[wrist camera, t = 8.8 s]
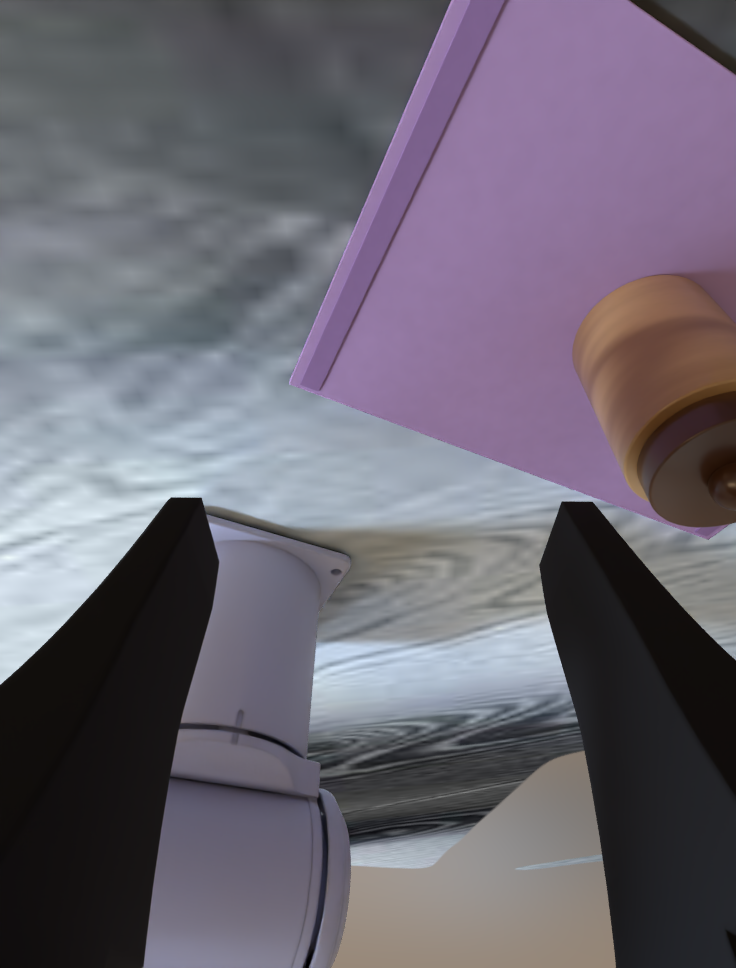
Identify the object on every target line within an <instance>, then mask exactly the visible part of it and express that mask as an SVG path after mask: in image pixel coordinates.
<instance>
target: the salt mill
mask: <svg viewBox="0 0 736 968" xmlns="http://www.w3.org/2000/svg"><path fill="white" fill-rule="evenodd" d="M572 360H573V365H574V368H575V370H576V373H577V375H578V377H579V379H580V382H581V384H582V386H583V388H584V390H585V392H586V395H587V397H588V399H589V401H590V403H591V406H592V408H593V410H594V412H595V414H596V416H597V419H598V421H599V423H600V425H601V427H602V430H603V432H604V434H605V436H606V438H607V440H608V443H609V445H610V447H611V449H612V451H613V454H614V456H615V458H616V460H617V462H618V464H619V467H620V469H621V471H622V473H623V475H624V477H625V480H626V482H627V484H628V485H629V487H630V488H631V490H632V491H633V492H634V493H635V494H636V495H638V496H639V497H641V498H642V499H644V500H646V501H648V502H650V504H651V506H652V508H653V509H654V511H655V512H656V513H657V514H658V515H659V516H661V517H662V518H664V519H665V520H667V521H669V522H671V523H674V524H677V525H681V526H686V527H696V528H702V527H716V526H722V525H727V524H732V523H736V323H735V322H734V321H733V320H732V319H731V318H730V317H729V316H728V315H727V313H726V312H725V311H724V310H723V309H722V308H721V307H720V306H719V305H718V304H717V303H716V302H715V300H714V299H713V298H712V297H711V296H710V295H709V294H708V293H707V292H706V291H705V290H704V289H703V288H702V287H701V286H700V285H699V284H697V283H696V282H694V281H692V280H690V279H687V278H684V277H680V276H674V275H655V276H648V277H645V278H641V279H637V280H635V281H632V282H629V283H627V284H625V285H623V286H621V287H619V288H617V289H616V290H614V291H613V292H611V293H609V294H608V295H607V296H605V297H604V298H603V299H602V300H601V301H599V302H598V303H597V304H596V305H595V306H594V307H593V308H592V309H591V311H590V312H589V313H588V314H587V316H586V317H585V318H584V320H583V321H582V323H581V325H580V327H579V329H578V331H577V333H576V336H575V339H574V343H573V349H572Z"/></svg>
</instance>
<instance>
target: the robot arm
mask: <svg viewBox="0 0 736 968" xmlns="http://www.w3.org/2000/svg"><path fill="white" fill-rule="evenodd" d="M539 566H540V573H541V580H542V587H543V593H544V599H545V605H546V611H547V615H548V618H549V622H550V625H551V629H552V632H553V636H554V639H555V643H556V646H557V650H558V653H559V657H560V660H561V663H562V667H563V670H564V674H565V677H566V680H567V684H568V687H569V691H570V694H571V697H572V701H573V704H574V708H575V711H576V715H577V719H578V723H579V727H580V731H581V735H582V739H583V745H584V750H585V755H586V760H587V766H588V771H589V777H590V782H591V788H592V793H593V799H594V805H595V812H596V817H597V823H598V829H599V835H600V842H601V849H602V856H603V863H604V870H605V877H606V884H607V891H608V900H609V908H610V916H611V925H612V933H613V940H614V950H615V960H616V968H736V660H735V659H734V658H732V657H731V656H730V655H729V654H728V653H727V652H726V651H725V650H724V649H723V648H722V647H721V646H720V645H719V644H718V643H717V642H716V641H715V640H714V639H713V638H712V637H710V636H709V634H708V633H707V632H706V631H705V630H704V629H703V628H702V627H701V626H700V625H699V624H698V623H697V622H696V621H695V620H694V619H693V618H692V617H691V616H690V615H689V614H688V613H687V612H686V611H685V610H684V609H683V607H682V606H681V605H680V604H679V603H678V602H677V601H676V600H675V599H674V598H673V597H672V595H671V594H670V593H669V592H668V591H667V590H666V589H665V588H664V586H663V585H662V584H661V583H660V582H659V581H658V580H657V579H656V577H655V576H654V575H653V574H652V573H651V572H650V571H649V569H648V568H647V567H646V566H645V565H644V564H643V562H642V561H641V560H640V559H639V558H638V556H637V555H636V554H635V553H634V552H633V550H632V549H631V548H630V547H629V546H628V544H627V543H626V542H625V541H624V540H623V538H622V537H621V536H620V535H619V533H618V532H617V531H616V530H615V529H614V527H613V526H612V525H611V524H610V522H609V521H608V520H607V519H606V518H605V516H604V515H603V514H602V513H601V511H600V510H599V509H598V508H597V507H596V506H595V504H594V503H593V502H562V503H561V505H560V508H559V511H558V514H557V517H556V520H555V522H554V525H553V528H552V531H551V534H550V537H549V539H548V542H547V545H546V548H545V551H544V554H543V557H542V559H541V562H540V565H539ZM350 567H351V559H350V558H349V557H348V556H347V555H345V554H341V553H338V552H335V551H331V550H328V549H324V548H321V547H317V546H314V545H310V544H307V543H304V542H300V541H297V540H293V539H290V538H286V537H283V536H279V535H276V534H273V533H269V532H266V531H262V530H259V529H255V528H252V527H248V526H245V525H242V524H238V523H235V522H231V521H228V520H224V519H221V518H217V517H214V516H211V515H207V514H206V512H205V508H204V505H203V501H202V498H170V499H169V500H168V501H167V502H166V503H165V505H164V506H163V507H162V509H161V510H160V511H159V512H158V514H157V515H156V516H155V518H154V519H153V520H152V522H151V523H150V524H149V525H148V527H147V528H146V529H145V531H144V532H143V533H142V534H141V536H140V537H139V538H138V539H137V541H136V542H135V543H134V544H133V546H132V547H131V548H130V550H129V551H128V552H127V553H126V554H125V556H124V557H123V558H122V559H121V560H120V562H119V563H118V564H117V565H116V566H115V568H114V569H113V570H112V571H111V572H110V574H109V575H108V576H107V577H106V578H105V580H104V581H103V582H102V583H101V584H100V585H99V587H98V588H97V589H96V590H95V591H94V592H93V593H92V594H91V595H90V597H89V598H88V599H87V600H86V601H85V602H84V603H83V604H82V605H81V606H80V607H79V609H78V610H77V611H76V612H75V613H74V614H73V615H72V616H71V617H70V618H69V619H68V620H67V622H66V623H65V624H64V625H63V626H62V627H61V628H60V629H59V630H58V631H57V632H56V633H55V634H54V635H53V636H52V637H51V638H50V639H49V640H48V641H47V642H46V643H45V644H44V645H43V646H42V647H41V648H40V649H39V650H38V651H37V652H36V653H35V654H34V655H32V656H31V657H30V658H29V659H28V660H27V661H26V662H25V663H24V664H23V665H22V666H21V667H20V668H19V669H18V670H16V671H15V672H14V673H13V674H12V675H11V676H10V677H9V678H7V679H6V680H5V681H4V682H3V683H2V684H1V685H0V968H331V967H332V965H333V963H334V961H335V958H336V956H337V953H338V950H339V946H340V943H341V940H342V936H343V931H344V927H345V922H346V916H347V910H348V903H349V893H350V878H351V855H350V843H349V836H348V830H347V826H346V823H345V820H344V817H343V815H342V813H341V812H340V810H339V807H338V804H337V802H336V800H335V798H334V796H333V795H332V794H331V793H330V792H328V791H326V790H324V789H319V779H320V763H318V762H314V761H310V760H306V758H307V746H308V734H309V722H310V709H311V697H312V685H313V673H314V661H315V649H316V637H317V625H318V613H319V611H320V610H321V608H322V607H323V606H324V604H325V603H326V601H327V600H328V599H329V597H330V596H331V594H332V593H333V592H334V590H335V589H336V587H337V586H338V585H339V583H340V582H341V580H342V579H343V577H344V576H345V575H346V573H347V572H348V570H349V569H350Z"/></svg>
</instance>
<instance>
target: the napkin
mask: <svg viewBox="0 0 736 968" xmlns="http://www.w3.org/2000/svg"><path fill="white" fill-rule="evenodd" d="M655 275H674V276H680V277H684V278H687V279H690V280H692V281H694V282H696V283H697V284H699V285H700V286H701V287H702V288H703V289H704V290H705V291H706V292H707V293H708V294H709V295H710V296H711V297H712V298H713V299H714V300H715V302H716V303H717V304H718V305H719V306H720V307H721V308H722V309H723V310H724V311H725V312H726V313H727V315H728V316H729V317H730V318H731V319H732V320H733V321H734V322H735V323H736V74H734V73H733V72H731V71H730V70H728V69H727V68H725V67H724V66H723V65H721V64H720V63H718V62H717V61H715V60H714V59H713V58H711V57H710V56H708V55H707V54H705V53H704V52H703V51H701V50H700V49H698V48H697V47H695V46H694V45H693V44H691V43H690V42H688V41H687V40H685V39H684V38H683V37H681V36H680V35H678V34H677V33H675V32H674V31H673V30H671V29H670V28H668V27H667V26H665V25H664V24H662V23H661V22H660V21H658V20H657V19H655V18H654V17H652V16H651V15H650V14H648V13H647V12H645V11H644V10H642V9H641V8H640V7H638V6H637V5H635V4H634V3H632V2H631V1H630V0H451V3H450V5H449V7H448V10H447V12H446V14H445V17H444V19H443V21H442V24H441V26H440V28H439V31H438V33H437V35H436V38H435V40H434V43H433V45H432V47H431V50H430V52H429V54H428V57H427V59H426V61H425V64H424V66H423V68H422V71H421V73H420V75H419V78H418V80H417V82H416V85H415V87H414V89H413V92H412V94H411V97H410V99H409V101H408V104H407V106H406V108H405V111H404V113H403V115H402V118H401V120H400V122H399V125H398V127H397V129H396V132H395V134H394V136H393V139H392V141H391V144H390V146H389V148H388V151H387V153H386V155H385V158H384V160H383V162H382V165H381V167H380V169H379V172H378V174H377V176H376V179H375V181H374V183H373V186H372V188H371V190H370V193H369V195H368V198H367V200H366V202H365V205H364V207H363V209H362V212H361V214H360V216H359V219H358V221H357V223H356V226H355V228H354V230H353V233H352V235H351V237H350V240H349V242H348V245H347V247H346V249H345V252H344V254H343V256H342V259H341V261H340V263H339V266H338V268H337V270H336V273H335V275H334V277H333V280H332V282H331V284H330V287H329V289H328V291H327V294H326V296H325V299H324V301H323V303H322V306H321V308H320V310H319V313H318V315H317V317H316V320H315V322H314V324H313V327H312V329H311V331H310V334H309V336H308V338H307V341H306V343H305V346H304V348H303V350H302V353H301V355H300V357H299V360H298V362H297V364H296V367H295V369H294V371H293V374H292V376H291V378H290V382H289V384H290V385H293V386H296V387H298V388H301V389H304V390H306V391H309V392H312V393H314V394H317V395H320V396H322V397H325V398H328V399H331V400H333V401H336V402H339V403H341V404H344V405H347V406H349V407H352V408H355V409H357V410H360V411H363V412H366V413H368V414H371V415H374V416H376V417H379V418H382V419H384V420H387V421H390V422H392V423H395V424H398V425H401V426H403V427H406V428H409V429H411V430H414V431H417V432H419V433H422V434H425V435H427V436H430V437H433V438H436V439H438V440H441V441H444V442H446V443H449V444H452V445H454V446H457V447H460V448H463V449H465V450H468V451H471V452H473V453H476V454H479V455H481V456H484V457H487V458H489V459H492V460H495V461H498V462H500V463H503V464H506V465H508V466H511V467H514V468H516V469H519V470H522V471H524V472H527V473H530V474H533V475H535V476H538V477H541V478H543V479H546V480H549V481H551V482H554V483H557V484H559V485H562V486H565V487H568V488H570V489H573V490H576V491H578V492H581V493H584V494H586V495H589V496H592V497H594V498H597V499H600V500H603V501H605V502H608V503H611V504H613V505H616V506H619V507H621V508H624V509H627V510H629V511H632V512H635V513H638V514H640V515H643V516H646V517H648V518H651V519H654V520H656V521H659V522H662V523H664V524H667V525H670V526H673V527H675V528H678V529H681V530H683V531H686V532H689V533H691V534H694V535H697V536H699V537H702V538H705V539H708V540H709V539H710V538H711V537H713V536H714V535H715V534H717V533H718V532H720V531H721V530H722V529H724V528H725V527H726V526H728V525H729V524H727V525H722V526H716V527H702V528H696V527H686V526H681V525H677V524H674V523H671V522H669V521H667V520H665V519H664V518H662V517H661V516H659V515H658V514H657V513H656V512H655V511H654V509H653V508H652V506H651V504H650V502H648V501H646V500H644V499H642V498H641V497H639V496H638V495H636V494H635V493H634V492H633V491H632V490H631V488H630V487H629V485H628V484H627V482H626V480H625V477H624V475H623V473H622V471H621V469H620V467H619V464H618V462H617V460H616V458H615V456H614V454H613V451H612V449H611V447H610V445H609V443H608V440H607V438H606V436H605V434H604V432H603V430H602V427H601V425H600V423H599V421H598V419H597V416H596V414H595V412H594V410H593V408H592V406H591V403H590V401H589V399H588V397H587V395H586V392H585V390H584V388H583V386H582V384H581V382H580V379H579V377H578V375H577V373H576V370H575V368H574V365H573V360H572V349H573V343H574V339H575V336H576V333H577V331H578V329H579V327H580V325H581V323H582V321H583V320H584V318H585V317H586V316H587V314H588V313H589V312H590V311H591V309H592V308H593V307H594V306H595V305H596V304H597V303H598V302H599V301H601V300H602V299H603V298H604V297H605V296H607V295H608V294H609V293H611V292H613V291H614V290H616V289H617V288H619V287H621V286H623V285H625V284H627V283H629V282H632V281H635V280H637V279H641V278H645V277H648V276H655Z"/></svg>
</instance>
